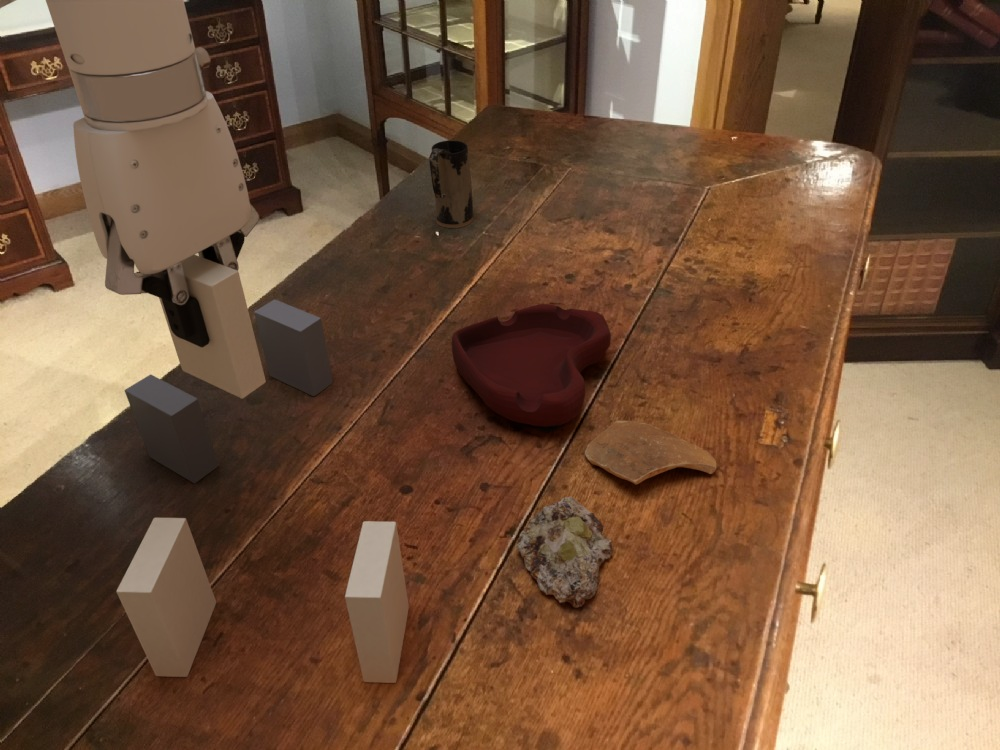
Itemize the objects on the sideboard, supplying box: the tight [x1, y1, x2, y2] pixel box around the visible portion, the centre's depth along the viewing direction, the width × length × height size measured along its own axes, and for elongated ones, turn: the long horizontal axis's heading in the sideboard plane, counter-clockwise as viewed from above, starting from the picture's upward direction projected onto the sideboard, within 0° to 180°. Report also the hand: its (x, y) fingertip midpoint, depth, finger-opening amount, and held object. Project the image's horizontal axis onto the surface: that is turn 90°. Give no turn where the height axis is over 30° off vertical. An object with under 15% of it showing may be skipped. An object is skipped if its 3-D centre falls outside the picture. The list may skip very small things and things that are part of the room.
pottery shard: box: [584, 420, 717, 486], centre depth 81 cm, size 10×9×2 cm
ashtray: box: [451, 303, 612, 433], centre depth 91 cm, size 18×16×5 cm
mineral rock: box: [515, 496, 614, 609], centre depth 72 cm, size 11×4×8 cm
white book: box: [158, 254, 267, 400], centre depth 64 cm, size 7×2×10 cm, turn 56°
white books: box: [115, 517, 410, 684], centre depth 64 cm, size 18×7×10 cm, turn 87°
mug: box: [428, 139, 474, 229], centre depth 120 cm, size 8×6×12 cm
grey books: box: [124, 298, 334, 484], centre depth 87 cm, size 7×19×8 cm, turn 145°
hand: (209, 328), depth 65 cm, fingers closed on white book, 2 cm apart
